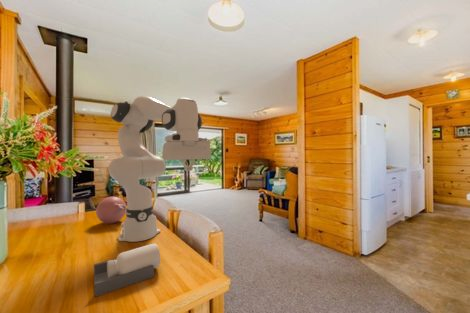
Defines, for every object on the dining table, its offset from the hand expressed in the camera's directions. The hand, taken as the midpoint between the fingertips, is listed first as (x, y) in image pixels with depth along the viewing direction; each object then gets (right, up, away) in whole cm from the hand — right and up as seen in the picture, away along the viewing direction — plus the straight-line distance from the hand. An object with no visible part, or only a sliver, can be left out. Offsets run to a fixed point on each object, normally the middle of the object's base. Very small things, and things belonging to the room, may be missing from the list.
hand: (188, 170), depth 86 cm
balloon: (-51, -34, +35) cm, 71 cm away
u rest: (-17, -34, -18) cm, 42 cm away
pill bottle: (-8, -29, -13) cm, 32 cm away
